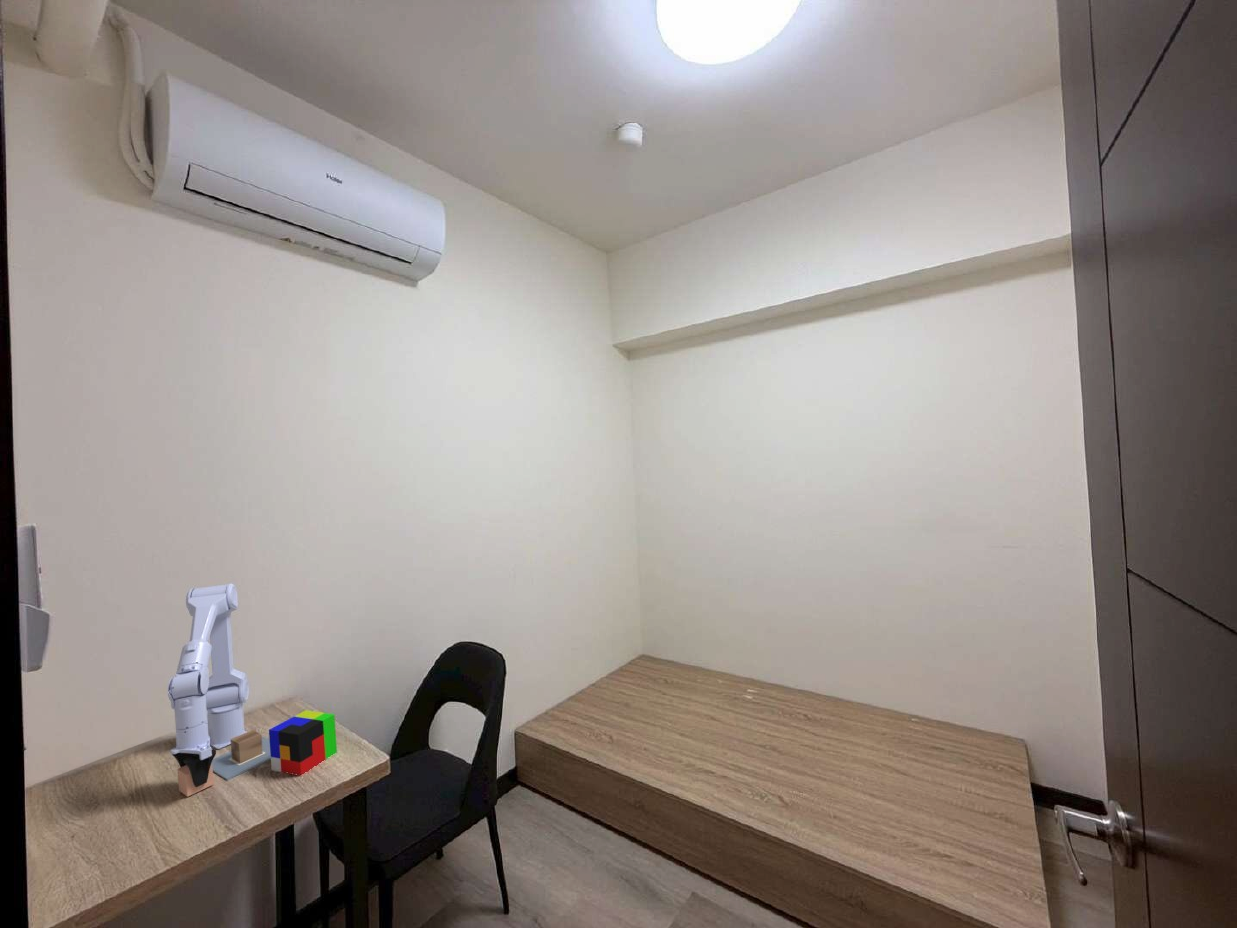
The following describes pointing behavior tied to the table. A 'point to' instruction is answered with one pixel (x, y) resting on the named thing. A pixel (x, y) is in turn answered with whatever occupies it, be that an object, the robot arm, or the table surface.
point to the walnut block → (246, 746)
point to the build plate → (232, 768)
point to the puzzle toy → (302, 742)
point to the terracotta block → (191, 781)
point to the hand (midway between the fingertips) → (196, 781)
